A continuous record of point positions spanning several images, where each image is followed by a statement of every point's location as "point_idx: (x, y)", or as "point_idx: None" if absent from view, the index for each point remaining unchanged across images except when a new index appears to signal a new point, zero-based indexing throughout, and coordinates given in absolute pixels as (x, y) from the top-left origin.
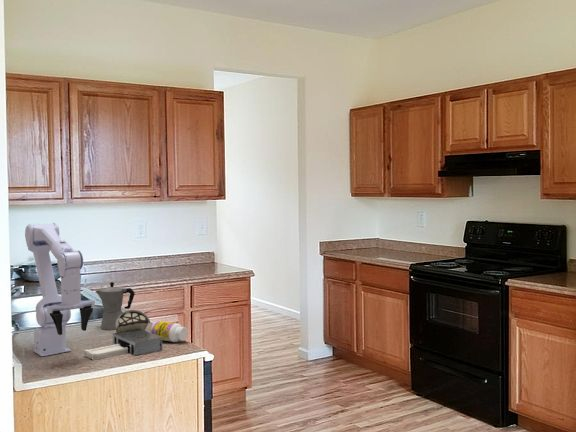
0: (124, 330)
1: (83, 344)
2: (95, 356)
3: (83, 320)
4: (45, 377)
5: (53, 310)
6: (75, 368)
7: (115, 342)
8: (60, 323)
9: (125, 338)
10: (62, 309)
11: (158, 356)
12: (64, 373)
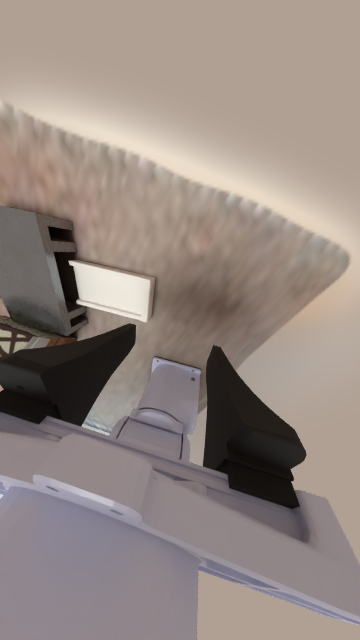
0: (41, 332)
1: (122, 366)
2: (146, 277)
3: (112, 354)
4: (305, 253)
5: (277, 513)
6: (214, 256)
7: (79, 321)
8: (231, 378)
9: (51, 278)
10: (203, 483)
11: (21, 152)
12: (257, 242)
